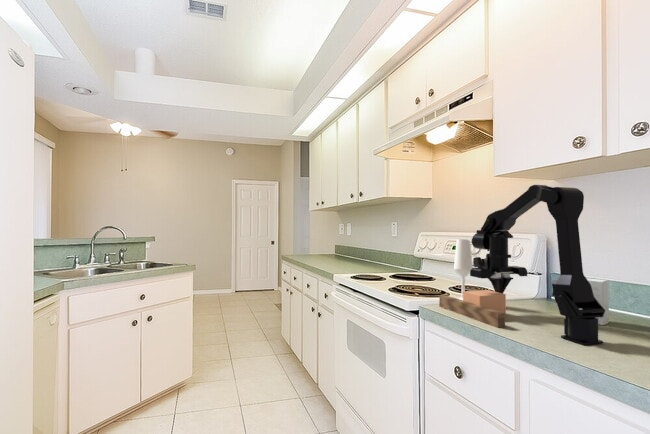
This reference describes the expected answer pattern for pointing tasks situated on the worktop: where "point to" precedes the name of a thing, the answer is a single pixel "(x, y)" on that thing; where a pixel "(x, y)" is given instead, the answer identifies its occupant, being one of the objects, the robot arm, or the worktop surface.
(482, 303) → the brick
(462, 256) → the champagne flute
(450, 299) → the plank
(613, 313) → the worktop surface
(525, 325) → the worktop surface
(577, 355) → the worktop surface
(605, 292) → the small box
